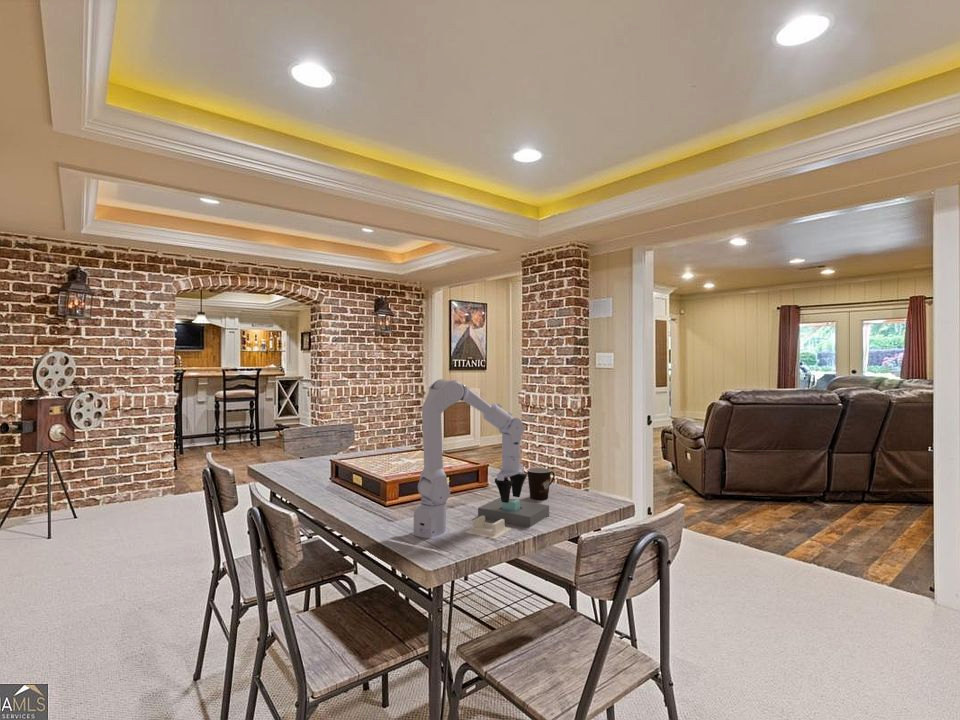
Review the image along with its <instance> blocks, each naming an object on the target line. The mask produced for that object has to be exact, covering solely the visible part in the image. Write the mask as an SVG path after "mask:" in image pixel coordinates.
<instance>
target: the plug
mask: <svg viewBox="0 0 960 720" xmlns="http://www.w3.org/2000/svg"><path fill="white" fill-rule="evenodd" d="M520 501H521V499H514V498H509V502H508V503H504V502H502V509H503V510H509V511H515V512H516V511H518V510H520Z"/></svg>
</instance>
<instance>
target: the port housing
mask: <svg viewBox="0 0 960 720" xmlns="http://www.w3.org/2000/svg"><path fill="white" fill-rule="evenodd" d="M480 516H485V520H489V521H494V522H497V521H499V520H501V519H504V520H505V524H510V525H517V526H522V527H525V528H526V527H527V528H531V527H533V526H534V525H536V524H537V523H539V522H541V521H542V520H544V519H545V518H546V519H548V518H549V517H550V505H547V504H542V503H536V502H528V501H523V500H520V510H518V511H516V512H515V511H509V510H503V509H502V501H501V497H498V498H496V499H494V500H491V501H489V502H488V503H485V504H483V505H481V506H479V507H478V508H477V518H478V517H480ZM547 517H548V518H547Z"/></svg>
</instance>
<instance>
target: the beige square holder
mask: <svg viewBox="0 0 960 720" xmlns="http://www.w3.org/2000/svg"><path fill="white" fill-rule="evenodd" d="M505 525H506V523H505V520H504V519H501V520H499V521H494V522H492V523H491V522H487V521H486V519H485V516H480V517H478V516H477V517H476V518H475V519H472V527H471V528H470V529H468V530H466V531H464V533H466V534H470V535H475V536H481V537H485V538H490V539H497V538H499V537H500V536H502V535H504V534H505V533H507V532H509V531H510V530H512V528H511V527H506V526H505Z"/></svg>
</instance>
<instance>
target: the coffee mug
mask: <svg viewBox="0 0 960 720" xmlns="http://www.w3.org/2000/svg"><path fill="white" fill-rule="evenodd" d="M526 471H527V473H526V474H527V480H528V489H529V497H530V499H531V500H534V501H546V500H548V499H549V493H550V486H551V485H552V483H553V482H554V480H555V477H556V475H555V472H554V471H552V470H551V469H549V468H546V467H545V468H544V467H531V468H527V470H526ZM551 476H552V479H551Z"/></svg>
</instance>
